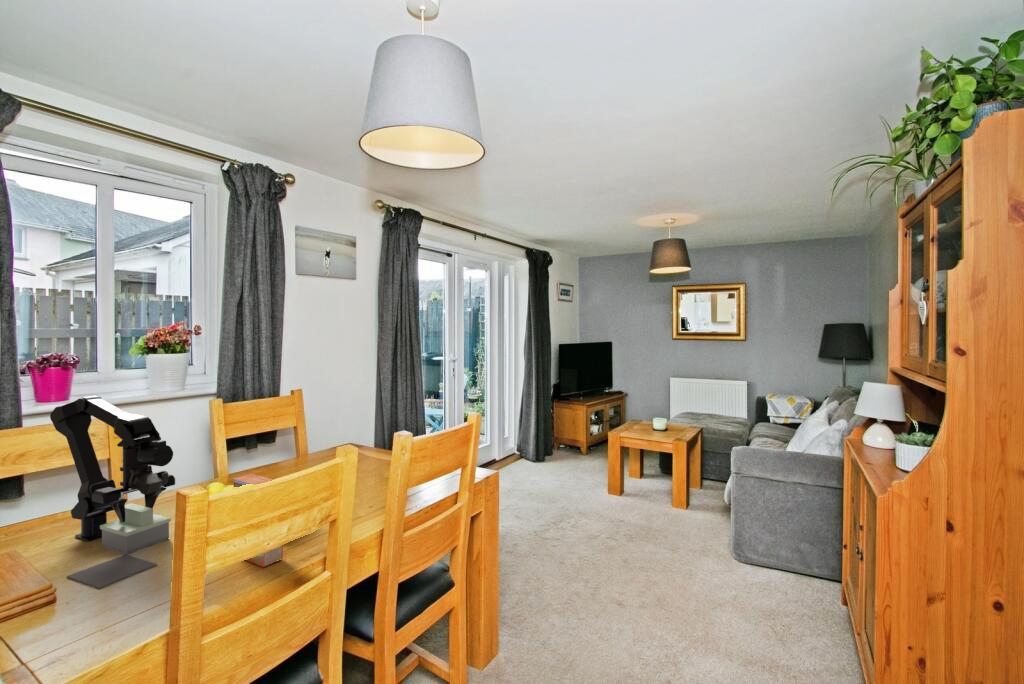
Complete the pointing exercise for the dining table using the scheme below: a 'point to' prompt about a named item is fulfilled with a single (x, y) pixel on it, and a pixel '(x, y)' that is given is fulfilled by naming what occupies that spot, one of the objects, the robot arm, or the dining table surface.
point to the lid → (135, 521)
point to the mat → (111, 571)
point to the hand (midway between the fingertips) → (135, 518)
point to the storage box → (135, 539)
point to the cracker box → (272, 554)
